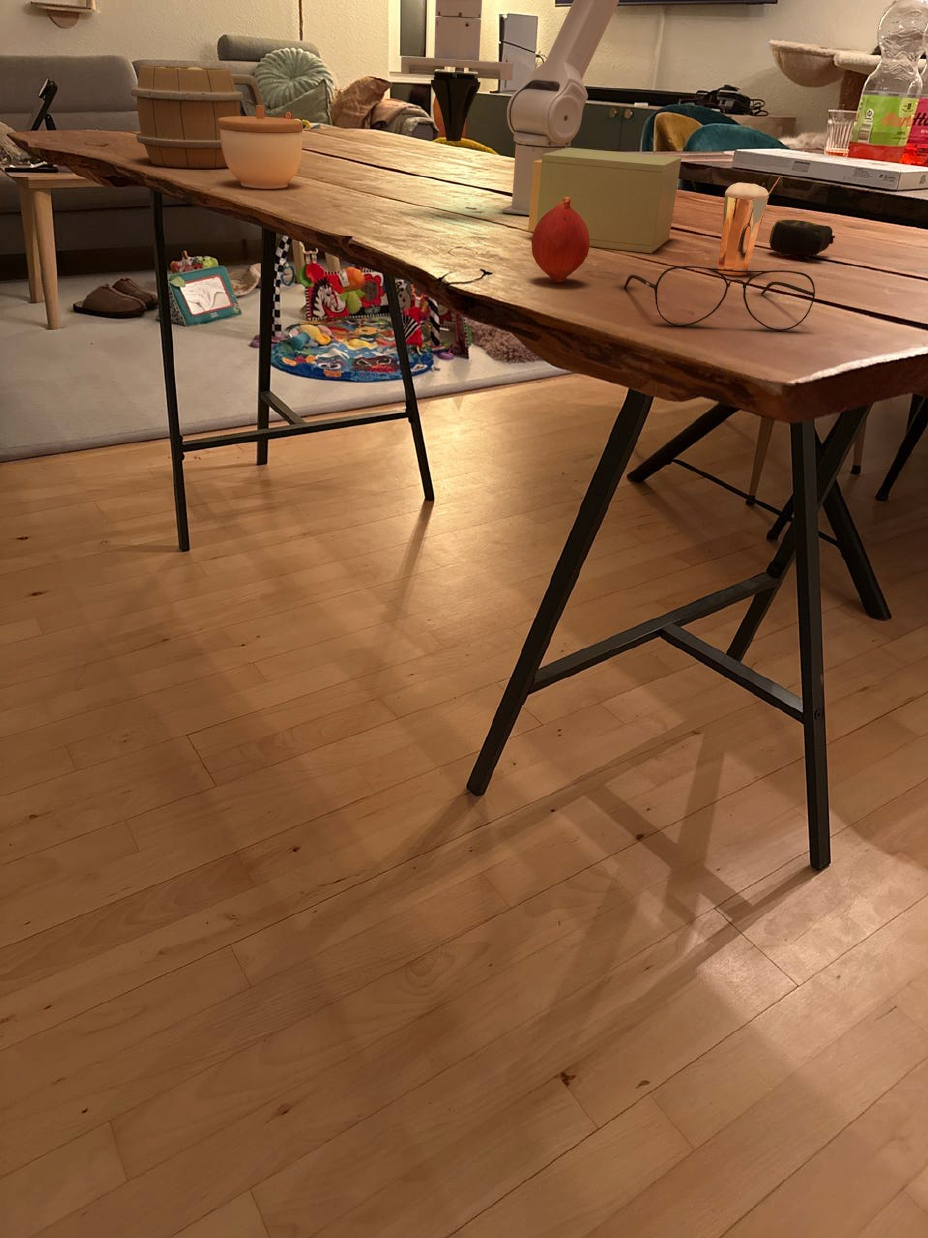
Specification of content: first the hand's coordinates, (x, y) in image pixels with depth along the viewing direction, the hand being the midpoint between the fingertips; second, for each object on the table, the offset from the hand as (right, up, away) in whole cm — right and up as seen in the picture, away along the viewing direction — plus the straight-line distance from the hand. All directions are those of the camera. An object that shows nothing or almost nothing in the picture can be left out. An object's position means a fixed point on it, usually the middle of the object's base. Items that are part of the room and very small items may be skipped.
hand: (453, 140), depth 122 cm
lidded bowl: (-30, +5, +23) cm, 38 cm away
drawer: (+17, -13, -4) cm, 22 cm away
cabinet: (+19, -15, -4) cm, 24 cm away
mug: (-45, +19, +45) cm, 66 cm away
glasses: (+25, -34, -34) cm, 54 cm away
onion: (+11, -29, -27) cm, 41 cm away
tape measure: (+43, -18, -8) cm, 47 cm away
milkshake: (+31, -25, -19) cm, 44 cm away
